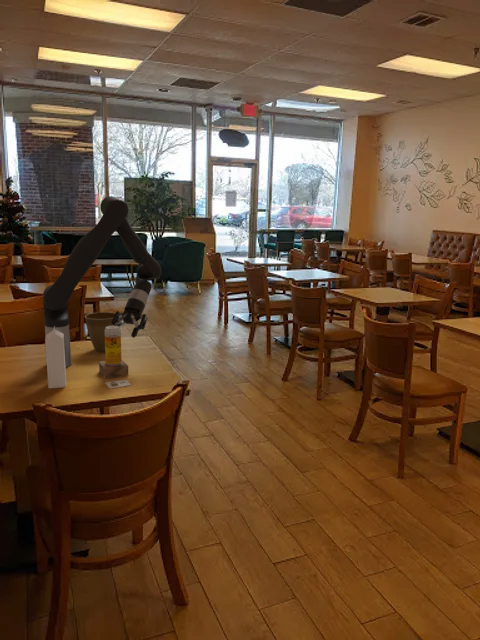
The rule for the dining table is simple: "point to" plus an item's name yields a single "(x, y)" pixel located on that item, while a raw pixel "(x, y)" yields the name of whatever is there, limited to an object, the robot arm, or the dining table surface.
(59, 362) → the milk
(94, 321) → the plant pot
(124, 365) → the base brick
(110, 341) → the yellow canister
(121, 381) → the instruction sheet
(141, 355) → the dining table surface
